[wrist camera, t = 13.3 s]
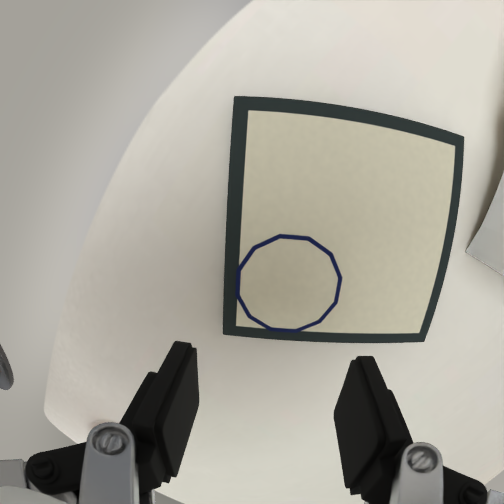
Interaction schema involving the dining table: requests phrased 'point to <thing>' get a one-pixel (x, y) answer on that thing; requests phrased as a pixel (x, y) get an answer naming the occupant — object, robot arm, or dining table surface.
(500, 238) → the folded paper
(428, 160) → the drawing mat
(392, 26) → the dining table surface
